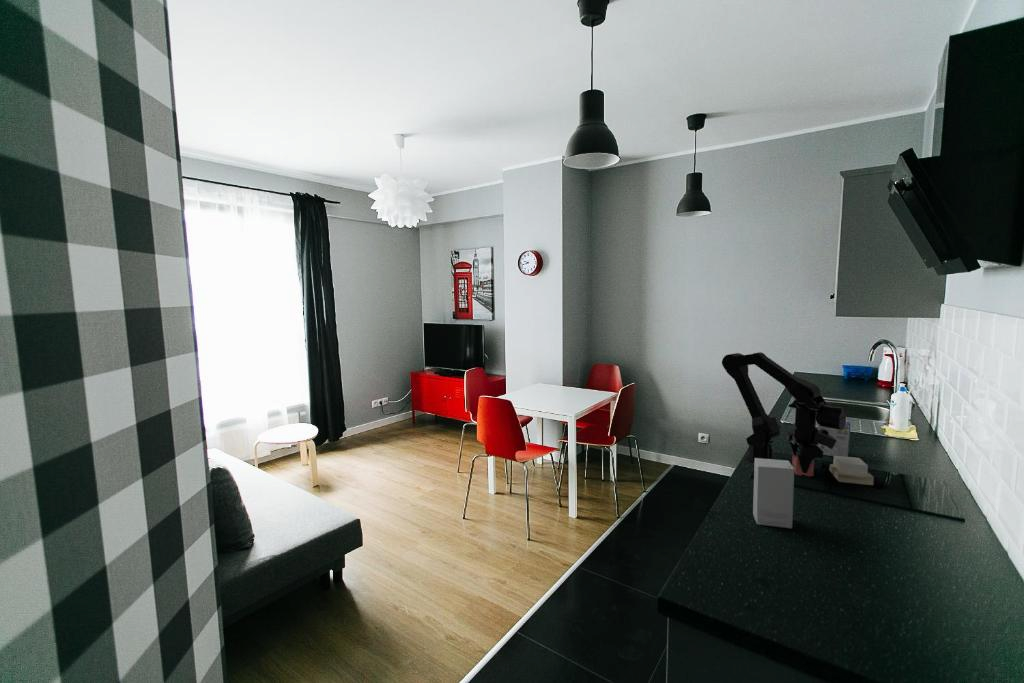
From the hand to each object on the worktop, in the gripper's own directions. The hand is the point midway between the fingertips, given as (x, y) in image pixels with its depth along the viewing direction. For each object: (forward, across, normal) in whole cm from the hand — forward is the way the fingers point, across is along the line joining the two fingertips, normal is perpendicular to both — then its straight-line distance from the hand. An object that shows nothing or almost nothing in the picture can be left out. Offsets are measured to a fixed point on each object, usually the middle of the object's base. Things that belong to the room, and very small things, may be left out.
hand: (802, 469), depth 153 cm
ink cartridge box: (+1, +24, -15) cm, 28 cm away
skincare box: (+1, -40, +16) cm, 43 cm away
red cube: (+1, 0, 0) cm, 1 cm away
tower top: (-2, 0, -13) cm, 13 cm away
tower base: (+2, 0, -13) cm, 13 cm away
